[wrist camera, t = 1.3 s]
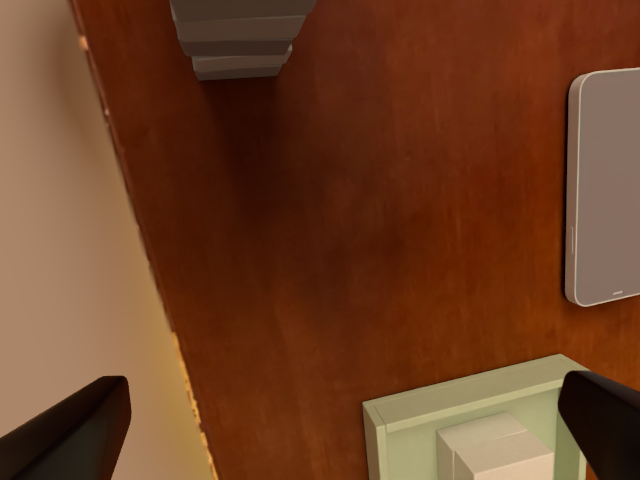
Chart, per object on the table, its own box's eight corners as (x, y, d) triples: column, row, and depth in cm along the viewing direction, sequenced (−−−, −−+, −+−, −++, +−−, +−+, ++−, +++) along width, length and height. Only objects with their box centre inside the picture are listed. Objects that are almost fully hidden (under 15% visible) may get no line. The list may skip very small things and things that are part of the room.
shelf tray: (376, 562, 27) (390, 600, 25) (361, 401, 24) (376, 427, 22) (554, 502, 30) (582, 531, 28) (560, 353, 27) (592, 371, 25)
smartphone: (677, 64, 24) (660, 289, 27) (661, 68, 24) (646, 285, 28) (579, 72, 22) (573, 309, 25) (566, 76, 23) (562, 305, 26)
